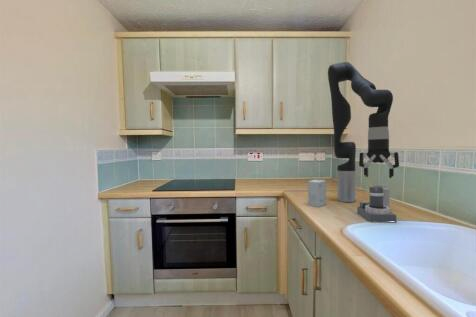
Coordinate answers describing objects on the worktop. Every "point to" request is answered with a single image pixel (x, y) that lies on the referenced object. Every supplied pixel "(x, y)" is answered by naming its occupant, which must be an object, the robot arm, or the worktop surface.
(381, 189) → the lens
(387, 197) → the can
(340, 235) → the worktop surface
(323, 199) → the small box
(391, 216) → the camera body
